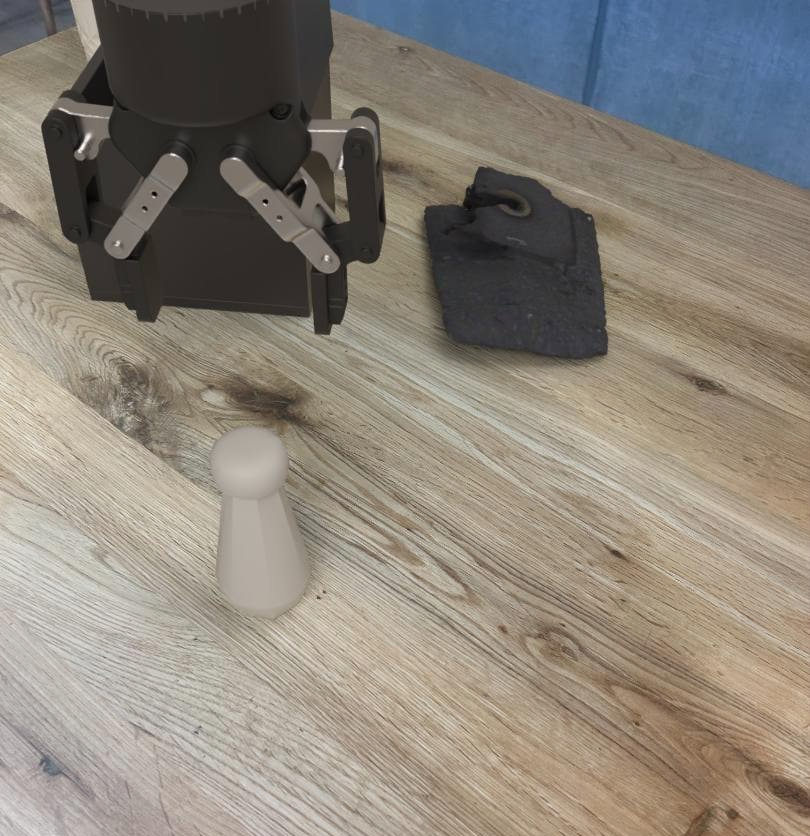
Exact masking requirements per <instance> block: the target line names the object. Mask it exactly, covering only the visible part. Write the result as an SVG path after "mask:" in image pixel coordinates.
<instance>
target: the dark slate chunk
mask: <svg viewBox="0 0 810 836" xmlns="http://www.w3.org/2000/svg"><path fill="white" fill-rule="evenodd" d="M423 213H424V215H423V222H424V223H425V231H426V232H425V235H426V240H427V247H428V250H429V258H430V259H431V269H432V272H433V273H432V276H433V282H434V284H435V286H436V288H437V293H438V299H439V301H440V304H441V308H442V310H443V312H442V323H443V325H444V327H445V329H446V332H447V333H448V335H449V337H450V339H451V340H452V341H453V342H455V343H456V344H470V345H474V346H483V347H484V348H491V349H502V350H503V349H504V350H509V351H525V352H530V353H533V354H536V355H539V356H545V357H559V358H570V359H574V360H579V359H582V358H593V357H596V356H607V354H608V347H609V346H608V344H609V337H608V335H609V334H608V332H607V328H606V326H607V318H606V315H607V310H606V302H605V287H604V282H603V279H602V277H603V276H602V275H603V273H602V269H601V268H602V267H601V266H602V264H601V256H600V253H599V247H600V246H599V242H598V238H597V230H596V223H595V219H594V217H593V214H592V213H588V212H585V211H584V210H582V208H580V207H570V206H569V205H567V204H565V203H564V202H563V201H562V200H561V199H558V198H557V197H555V196H553V194H552V192H551V189H549V188H547V187H546V186H544V185H543V184H541V183H540V182H539V181H538V180H537V179H535V178H532V177H529V176H522V175H519V174H518V175H516V174H512V173H505V172H503V171H500V170H498V169H495V168H494V167H491V166H487V167H485V166H484V165H483V166H478V168H477V170H476V172H475V174H474V178H473V182H472V183H471V184H470V185H468V186H467V187H466V188H465V196H464V200H463V201H462V205H461V206H460V205H459V204H454V203H452V204H448V205H447V204H436V205H435V204H434V205H425V208H424V211H423Z"/></svg>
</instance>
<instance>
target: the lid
mask: <svg viewBox="0 0 810 836" xmlns="http://www.w3.org/2000/svg"><path fill="white" fill-rule="evenodd" d="M294 1H295V16H296V31H297V46H298V61H299V76H300V90H301V96H302V100H303V102H304V105H305V107H306V109H307V110H308V112H309V113H310V114H311V112H312V109H313V106H314V103H315V100H316V97H317V94H318V91H319V88H320V85H321V82H322V79H323V76H324V73H325V70H326V67H327V64H328V61H329V62H330V58H331V55H332V53H333V49H334V45H335V43H334V33H333V22H332V12H331V1H330V0H294Z"/></svg>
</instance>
